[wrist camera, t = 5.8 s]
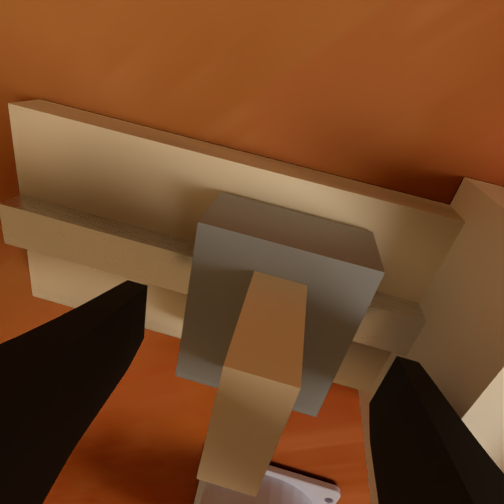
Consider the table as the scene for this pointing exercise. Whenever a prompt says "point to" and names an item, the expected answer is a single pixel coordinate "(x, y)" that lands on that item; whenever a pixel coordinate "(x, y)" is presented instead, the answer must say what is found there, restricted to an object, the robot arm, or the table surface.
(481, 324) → the cabinet
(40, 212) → the rail
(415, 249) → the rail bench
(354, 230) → the carriage
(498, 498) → the robot arm
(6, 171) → the table surface
